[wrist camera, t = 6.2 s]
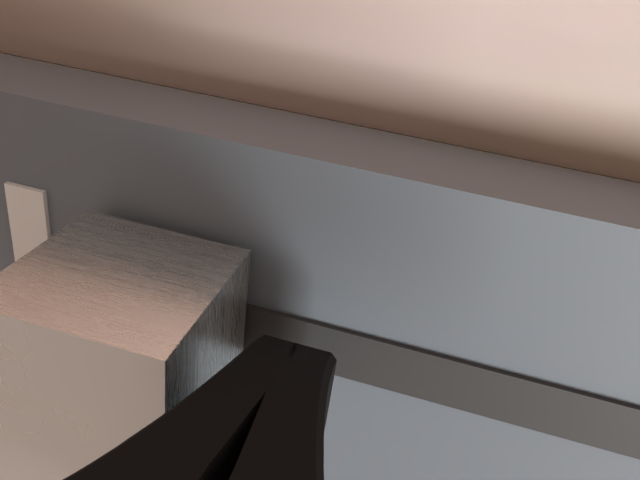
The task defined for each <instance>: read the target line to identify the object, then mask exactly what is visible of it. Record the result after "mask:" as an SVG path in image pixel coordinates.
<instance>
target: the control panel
mask: <svg viewBox="0 0 640 480" xmlns="http://www.w3.org/2000/svg"><path fill="white" fill-rule="evenodd" d="M89 210H90V211H94V212H98V213H102V214H106V215H110V216H114V217H118V218H122V219H126V220H130V221H134V222H138V223H142V224H146V225H150V226H154V227H158V228H163V229H167V230H171V231H175V232H179V233H183V234H187V235H191V236H195V237H199V238H203V239H207V240H211V241H215V242H219V243H223V244H227V245H231V246H235V247H240V248H244V249H248V250H251V253H250V266H249V279H248V292H247V304H246V317H245V330H244V343H243V350H244V349H246V348H247V347H248V346H249V345H250V344H251V343H252V342H254V341H255V340H256V339H257V338H259V337H260V336H262V335H264V334H265V335H268V336H272V337H276V338H280V339H283V340H287V341H291V342H294V343H298V344H302V345H305V346H309V347H313V348H316V349H320V350H324V351H327V352H331V353H332V354H333V356H334V357H335V358H336V360H337V363H336V368H335V374H334V380H333V385H332V391H331V397H330V402H329V408H328V414H327V419H326V425H325V431H324V480H640V183H636V182H631V181H626V180H621V179H616V178H612V177H607V176H602V175H597V174H592V173H587V172H582V171H577V170H572V169H567V168H563V167H558V166H553V165H548V164H543V163H538V162H533V161H528V160H523V159H518V158H513V157H509V156H504V155H499V154H494V153H489V152H484V151H479V150H474V149H469V148H464V147H459V146H455V145H450V144H445V143H440V142H435V141H430V140H425V139H420V138H415V137H410V136H405V135H401V134H396V133H391V132H386V131H381V130H376V129H371V128H366V127H361V126H356V125H352V124H347V123H342V122H337V121H332V120H327V119H322V118H317V117H312V116H307V115H302V114H298V113H293V112H288V111H283V110H278V109H273V108H268V107H263V106H258V105H253V104H248V103H244V102H239V101H234V100H229V99H224V98H219V97H214V96H209V95H204V94H199V93H194V92H190V91H185V90H180V89H175V88H170V87H165V86H160V85H155V84H150V83H145V82H140V81H136V80H131V79H126V78H121V77H116V76H111V75H106V74H101V73H96V72H91V71H87V70H82V69H77V68H72V67H67V66H62V65H57V64H52V63H47V62H42V61H37V60H33V59H28V58H23V57H18V56H13V55H8V54H3V53H0V272H1V271H2V270H4V269H5V268H7V267H8V266H9V265H11V264H12V263H14V262H15V261H17V260H18V259H20V258H21V257H22V256H24V255H25V254H27V253H28V252H30V251H31V250H33V249H34V248H35V247H37V246H38V245H40V244H41V243H43V242H44V241H46V240H47V239H48V238H50V237H51V236H53V235H54V234H56V233H57V232H58V231H60V230H61V229H63V228H64V227H66V226H67V225H69V224H70V223H71V222H73V221H74V220H76V219H77V218H79V217H80V216H82V215H83V214H84V213H86V212H87V211H89Z"/></svg>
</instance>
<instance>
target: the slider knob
mask: <svg viewBox="0 0 640 480" xmlns="http://www.w3.org/2000/svg"><path fill="white" fill-rule="evenodd" d="M250 253H251V250H248V249H244V248H240V247H235V246H231V245H227V244H223V243H219V242H215V241H211V240H207V239H203V238H199V237H195V236H191V235H187V234H183V233H179V232H175V231H171V230H167V229H163V228H158V227H154V226H150V225H146V224H142V223H138V222H134V221H130V220H126V219H122V218H118V217H114V216H110V215H106V214H102V213H98V212H94V211H90V210H89V211H87V212H86V213H84V214H83V215H82V216H80V217H79V218H77V219H76V220H74V221H73V222H71V223H70V224H69V225H67V226H66V227H64V228H63V229H61V230H60V231H58V232H57V233H56V234H54V235H53V236H51V237H50V238H48V239H47V240H46V241H44V242H43V243H41V244H40V245H38V246H37V247H35V248H34V249H33V250H31V251H30V252H28V253H27V254H25V255H24V256H22V257H21V258H20V259H18V260H17V261H15V262H14V263H12V264H11V265H9V266H8V267H7V268H5V269H4V270H2V271H1V272H0V480H63V479H65V478H66V477H68V476H70V475H72V474H73V473H75V472H77V471H78V470H80V469H82V468H83V467H85V466H87V465H88V464H90V463H91V462H93V461H95V460H96V459H98V458H99V457H101V456H103V455H104V454H106V453H107V452H109V451H110V450H112V449H114V448H115V447H117V446H118V445H120V444H121V443H122V442H124V441H125V440H127V439H128V438H130V437H131V436H133V435H134V434H136V433H137V432H138V431H140V430H141V429H143V428H144V427H146V426H147V425H149V424H150V423H152V422H153V421H154V420H156V419H157V418H159V417H160V416H162V415H163V414H164V413H166V412H167V411H168V410H170V409H171V408H172V407H174V406H175V405H176V404H178V403H179V402H180V401H182V400H183V399H184V398H185V397H187V396H188V395H189V394H191V393H192V392H193V391H195V390H196V389H197V388H199V387H200V386H201V385H202V384H204V383H205V382H206V381H207V380H209V379H210V378H211V377H212V376H214V375H215V374H216V373H217V372H218V371H220V370H221V369H222V368H223V367H225V366H226V365H227V364H228V363H229V362H231V361H232V360H233V359H234V358H235V357H236V356H238V355H239V354H240V353H241V352H242V351H243V343H244V330H245V317H246V304H247V292H248V279H249V266H250Z"/></svg>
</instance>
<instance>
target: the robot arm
mask: <svg viewBox="0 0 640 480" xmlns="http://www.w3.org/2000/svg"><path fill="white" fill-rule="evenodd" d="M336 363H337V360H336V358H335V357H334V356H333V354H332V353H331V352H327V351H324V350H320V349H316V348H313V347H309V346H305V345H302V344H298V343H294V342H291V341H287V340H283V339H280V338H276V337H272V336H268V335H265V334H264V335H262V336H260V337H259V338H257V339H256V340H255V341H254V342H252V343H251V344H250V345H249V346H248V347H247V348H246V349H244V350H243V351H242V352H241V353H240V354H239V355H238V356H236V357H235V358H234V359H233V360H232V361H231V362H229V363H228V364H227V365H226V366H225V367H223V368H222V369H221V370H220V371H218V372H217V373H216V374H215V375H214V376H212V377H211V378H210V379H209V380H207V381H206V382H205V383H204V384H202V385H201V386H200V387H199V388H197V389H196V390H195V391H193V392H192V393H191V394H189V395H188V396H187V397H185V398H184V399H183V400H182V401H180V402H179V403H178V404H176V405H175V406H174V407H172V408H171V409H170V410H168V411H167V412H166V413H164V414H163V415H162V416H160V417H159V418H157V419H156V420H154V421H153V422H152V423H150V424H149V425H147V426H146V427H144V428H143V429H141V430H140V431H138V432H137V433H136V434H134V435H133V436H131V437H130V438H128V439H127V440H125V441H124V442H122V443H121V444H120V445H118V446H117V447H115V448H114V449H112V450H110V451H109V452H107V453H106V454H104V455H103V456H101V457H99V458H98V459H96V460H95V461H93V462H91V463H90V464H88V465H87V466H85V467H83V468H82V469H80V470H78V471H77V472H75V473H73V474H72V475H70V476H68V477H66V478H65V479H63V480H324V431H325V425H326V419H327V414H328V408H329V402H330V397H331V391H332V385H333V380H334V374H335V368H336Z"/></svg>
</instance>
